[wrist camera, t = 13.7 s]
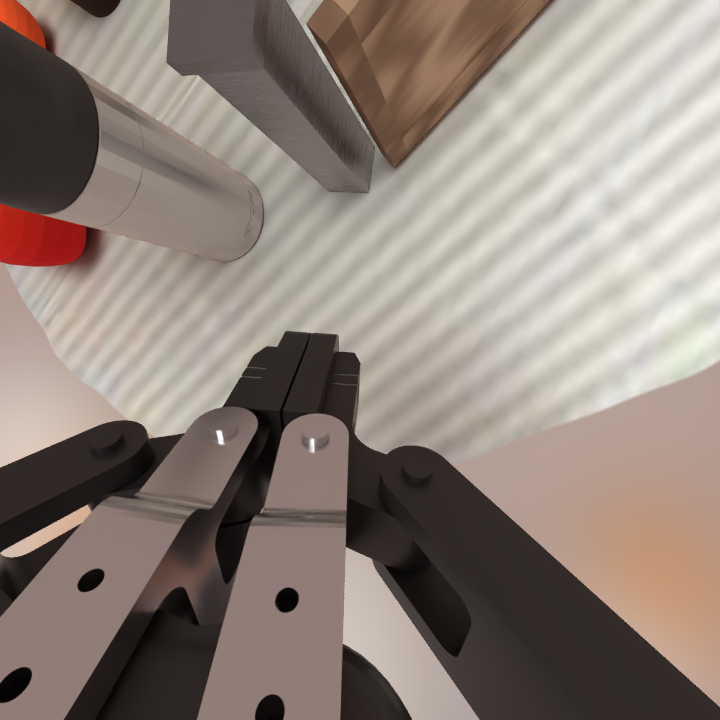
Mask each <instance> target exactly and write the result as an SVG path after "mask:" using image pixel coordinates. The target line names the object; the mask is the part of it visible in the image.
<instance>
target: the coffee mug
mask: <svg viewBox="0 0 720 720" xmlns="http://www.w3.org/2000/svg"><path fill="white" fill-rule="evenodd" d="M71 1H72V2H74V3H75V4H77V5H78V6H80V7H81V8H83V9H84V10H86V11H87V12H89V13H90V14H92V15H94V16H96V17H105V16H108V15H109V14H110V13H112V12H113V11H114V10H115V9H116V7H117V6H118V4H119V2H120V0H71Z"/></svg>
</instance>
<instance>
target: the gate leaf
mask: <svg viewBox="0 0 720 720" xmlns="http://www.w3.org/2000/svg"><path fill="white" fill-rule="evenodd" d="M549 1H550V0H323V2H322V3H321V4H320V6H319V7H318V9H317V10H316V11H315V13H314V14H313V15H312V17H311V18H310V19H309V21H308V22H307V23H306V24H307V26H308V28H309V29H310V31H311V33H312V35H313V36H314V38H315V40H316V41H317V43H318V45H319V47H320V48H321V50H322V52H323V53H324V55H325V57H326V59H327V60H328V62H329V64H330V65H331V67H332V69H333V71H334V72H335V74H336V76H337V77H338V79H339V81H340V83H341V84H342V86H343V88H344V89H345V91H346V93H347V95H348V96H349V98H350V100H351V101H352V103H353V105H354V107H355V108H356V110H357V112H358V113H359V115H360V117H361V118H362V120H363V122H364V124H365V125H366V127H367V129H368V130H369V132H370V134H371V136H372V137H373V139H374V141H375V142H376V144H377V146H378V148H379V149H380V151H381V153H382V154H383V156H384V157H385V158H386V159H387V160H388V161H389V162H390V163H391V164H392V165H393V166H394V167H395V166H396V165H397V164H398V163H399V162H400V161H401V160H402V159H403V158H404V157H405V156H406V155H407V154H408V152H409V151H410V150H411V149H412V148H413V147H414V146H415V145H416V144H417V143H418V142H419V141H420V140H421V138H422V137H423V136H424V135H425V134H426V133H427V132H428V131H429V130H430V129H431V128H432V127H433V126H434V125H435V123H436V122H437V121H438V120H439V119H440V118H441V117H442V116H443V115H444V114H445V113H446V112H447V111H448V109H449V108H450V107H451V106H452V105H453V104H454V103H455V102H456V101H457V100H458V99H459V98H460V97H461V95H462V94H463V93H464V92H465V91H466V90H467V89H468V88H469V87H470V86H471V85H472V84H473V83H474V81H475V80H476V79H477V78H478V77H479V76H480V75H481V74H482V73H483V72H484V71H485V70H486V69H487V67H488V66H489V65H490V64H491V63H492V62H493V61H494V60H495V59H496V58H497V57H498V56H499V55H500V53H501V52H502V51H503V50H504V49H505V48H506V47H507V46H508V45H509V44H510V43H511V42H512V41H513V39H514V38H515V37H516V36H517V35H518V34H519V33H520V32H521V31H522V30H523V29H524V28H525V27H526V25H527V24H528V23H529V22H530V21H531V20H532V19H533V18H534V17H535V16H536V15H537V14H538V13H539V11H540V10H541V9H542V8H543V7H544V6H545V5H546V4H547V3H548V2H549Z"/></svg>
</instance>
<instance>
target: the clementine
mask: <svg viewBox="0 0 720 720" xmlns="http://www.w3.org/2000/svg"><path fill="white" fill-rule="evenodd" d="M0 21H1V22H3V23H4V24H6V25H7V26H9V27H11V28H12V29H14V30H15V31H17V32H19V33H20V34H22V35H23V36H25V37H27V38H28V39H30V40H32V41H33V42H35V43H36V44H38V45H40V46H41V47H43V48H44V49H46V43H45V38H44V35H43V32H42V30H41V28H40V26H39V25H38V23H37V21H36V20H35V18H34V17H33V16H32V15H31V13H30V12H29V11H28V10H27V9H26V8H25V7H23V6H22V5H21V4H20V3H19V2H17V1H16V0H0Z"/></svg>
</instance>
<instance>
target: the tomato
mask: <svg viewBox="0 0 720 720" xmlns="http://www.w3.org/2000/svg"><path fill="white" fill-rule="evenodd" d="M85 245H86V226H83V225H79V224H75V223H71V222H67V221H64V220H60V219H56V218H52V217H48V216H44V215H40V214H36V213H32V212H28V211H24V210H20V209H16V208H12V207H9V206H6V205H3V204H0V262H3V263H7V264H12V265H23V266H34V267H38V266H56V265H64V264H68V263H71V262H73V261H75V260H76V259H78V258H79V257H80V256H81V254H82V253H83V251H84V249H85Z"/></svg>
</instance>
